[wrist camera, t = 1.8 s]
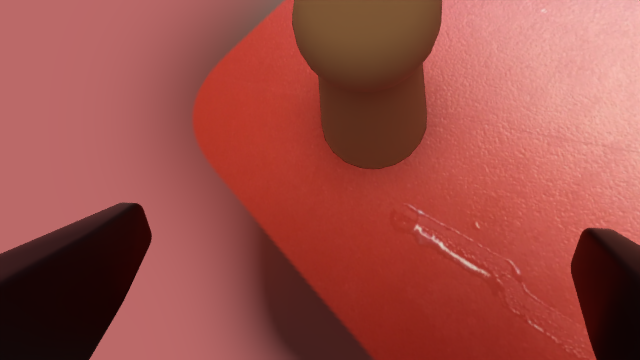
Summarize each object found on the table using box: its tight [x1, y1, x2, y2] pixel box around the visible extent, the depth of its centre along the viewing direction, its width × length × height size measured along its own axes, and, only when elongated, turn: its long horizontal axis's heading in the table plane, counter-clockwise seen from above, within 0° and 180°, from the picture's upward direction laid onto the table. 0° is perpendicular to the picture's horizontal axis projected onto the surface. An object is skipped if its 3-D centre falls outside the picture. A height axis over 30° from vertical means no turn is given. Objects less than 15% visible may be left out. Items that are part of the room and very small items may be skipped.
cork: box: [292, 0, 442, 169], centre depth 18 cm, size 6×6×11 cm
